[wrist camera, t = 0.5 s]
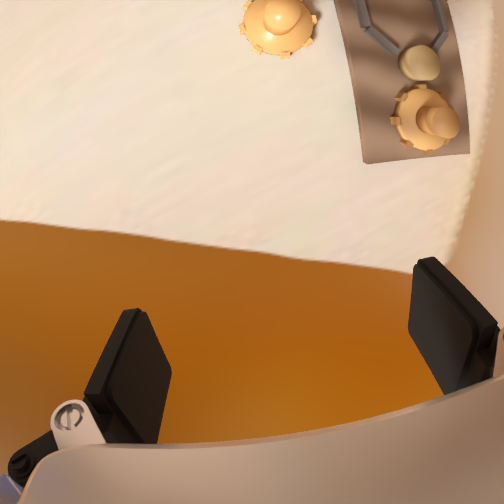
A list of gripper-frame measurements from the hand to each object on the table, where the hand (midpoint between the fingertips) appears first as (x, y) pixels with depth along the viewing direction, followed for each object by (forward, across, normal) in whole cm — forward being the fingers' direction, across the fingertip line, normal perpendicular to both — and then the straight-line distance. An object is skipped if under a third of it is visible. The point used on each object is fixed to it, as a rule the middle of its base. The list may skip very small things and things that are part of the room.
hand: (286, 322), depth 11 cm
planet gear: (+27, -5, -16) cm, 32 cm away
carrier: (+27, -20, -11) cm, 35 cm away
